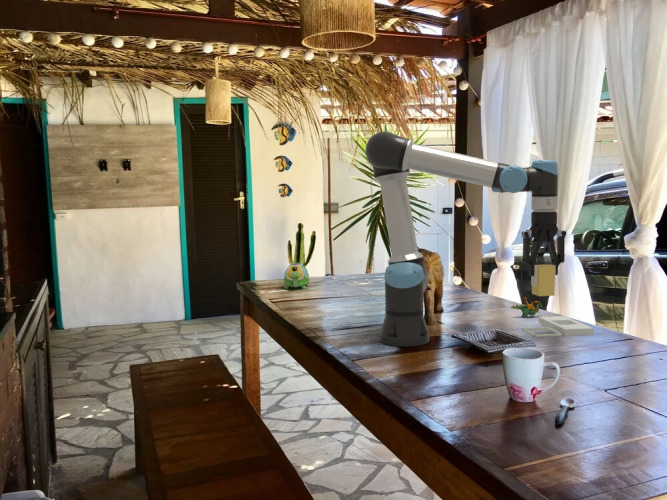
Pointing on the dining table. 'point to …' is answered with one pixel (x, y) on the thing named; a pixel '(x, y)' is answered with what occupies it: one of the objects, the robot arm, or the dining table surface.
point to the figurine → (528, 308)
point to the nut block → (545, 281)
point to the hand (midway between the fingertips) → (543, 285)
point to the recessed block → (566, 325)
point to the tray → (542, 334)
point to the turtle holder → (296, 276)
